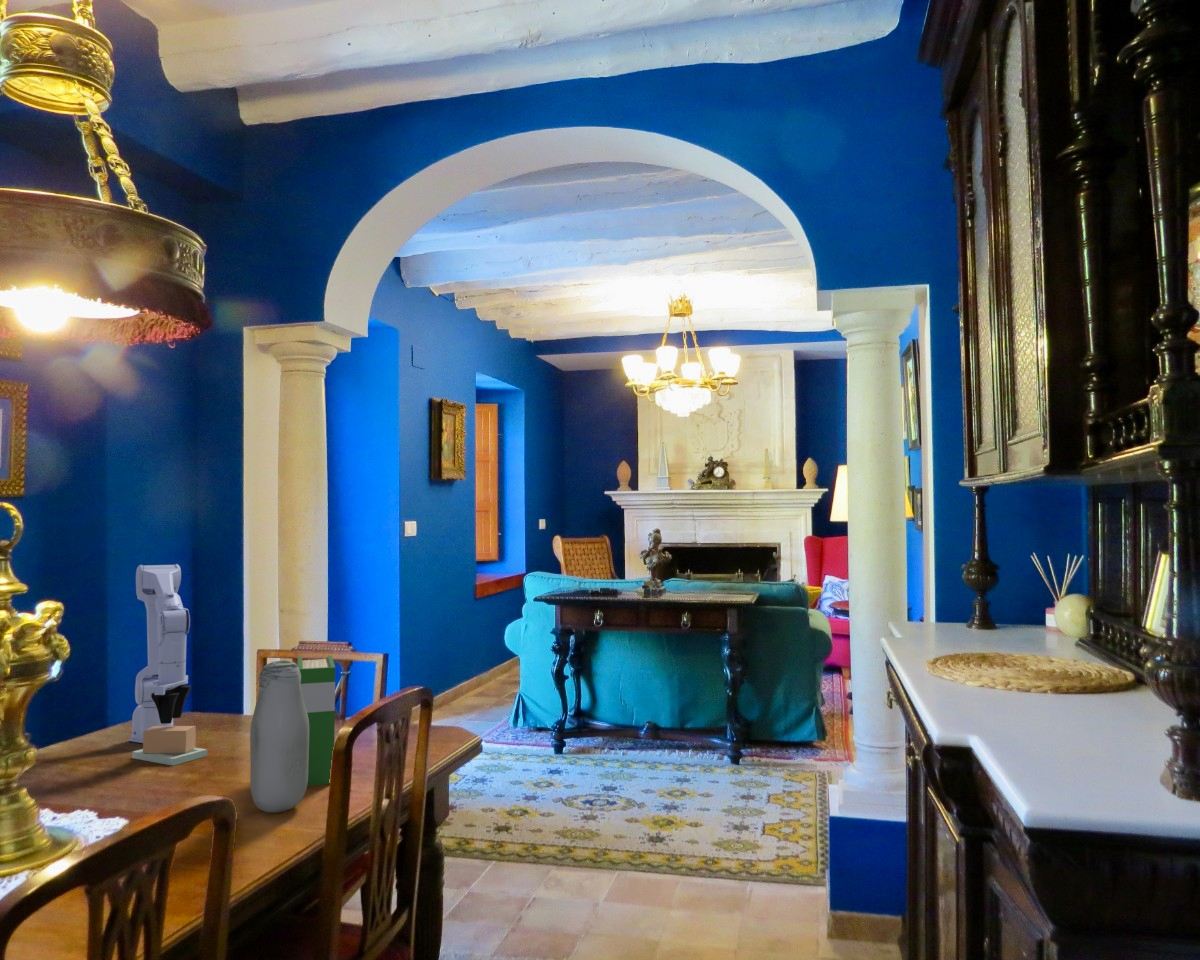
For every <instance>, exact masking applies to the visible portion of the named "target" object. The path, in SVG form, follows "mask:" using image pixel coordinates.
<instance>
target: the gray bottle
mask: <svg viewBox="0 0 1200 960" xmlns="http://www.w3.org/2000/svg"><path fill="white" fill-rule="evenodd" d="M249 744H250V745H249V748H250V750H249V751H250V753H249V754H250V767H249V768H250V770H249V771H250V776H249V777H250V781H249V783H250V784H249V785H250V793H251V796H252V799H253V803H254V804H255V806H256V807H257V808H258V809H259V810H261V811H262V812H265V813H267V814H268V813H274V814H275V813H282V812H286V811H288V810H291V809H294V808H295V807H296V806H298V805H299V803H300V802H301V801H302V800H303V798H304V797H305V793H306V792H307V787H308V786H307V782H308V757H309V719H308V714H307V710H306V707H305V704H304V700H303V694H302V689H301V673H300V670H299V667H298V663H295V662H293V661H292V660H291V661H290V660H284V659H283V660H275V661H271V662H269V663H267V664H266V665H264V667H263V668H262V669H261V670H260V673H259V678H258V693H257V701H256V702H255V707H254V711H253V715H252V719H251V723H250V731H249Z"/></svg>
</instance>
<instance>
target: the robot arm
mask: <svg viewBox="0 0 1200 960" xmlns="http://www.w3.org/2000/svg"><path fill="white" fill-rule="evenodd" d="M181 582H182V570H181V566H180V565H179V564H178V563H174V564H158V565H157V564H155V565H154V564H153V565H150V564H148V565H147V564H146V565H143V564H139V565H138V566H137V568H136V571H135V591H136V592H135V593H136V594H135V595H136V596H137V600H139V601H141V602H144V606H145V610H146V632H147V633H146V636H147V638H146V639H147V640H146V641H147V642H146V643H147V644H146V645H147V646H146V647H147V666H144V668H143V669H141V670H140V671H139V672H138V673H137V674H136V677H135V685H134V686H135V687H134V698H135V703H136V704H137V706H136V707H135V709H134V711H133V713H132V718H131V719H132V720H131V722H132V723H131V724H132V725H131V738H128V741H129V742H133V743H140V744H143V731H145V730H147V729H149V728H151V727H153V726H174V719H180V718H181V717H182V714H183V711H184V707H185V704H186V701H187V700H186V699H187V698H188V696H189V693H190V691H192V685H187V684H188V683H189V675H188V674H186V672H187V670H186V669H187V667H186V666H187V637H188V636H187V634H189V632H190V627H191V615H190V612H189V609H188V608H186V607H184V605H183V602H182V599H181V596H180V595H179V594H178V591H179V588H180V586H181Z"/></svg>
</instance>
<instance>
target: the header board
mask: <svg viewBox="0 0 1200 960" xmlns="http://www.w3.org/2000/svg"><path fill="white" fill-rule="evenodd" d="M131 757H132V758H131V759H133V760H135V759H136V760H140V761H147V762H151V763H157V764H162V765H167V766H177V765H180V764H184V763H187V762H191V761H196V760H198V759H201V758H205V757H208V749H207V748H200V747H196V746H195V748H193V749H192V750H190V751H188V752H186V753H143V748H142V749H137V750H134V751H132V756H131Z"/></svg>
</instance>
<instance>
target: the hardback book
mask: <svg viewBox="0 0 1200 960" xmlns="http://www.w3.org/2000/svg"><path fill="white" fill-rule="evenodd" d="M297 666H298V667H299V670H300V673H301V689H302V694H303V700H304V704H305V707H306V710H307V714H308V719H309V757H308V782H307V787H310V786H311V787H312V786H321V785H329V779H330V769H331V760H332V751H333V747H334V748H335V727H336V726H335V720H336V719H335V718H336V715H335V714H336V713H335V711H336V710H335V709H336V665H335V661H334V658H333V655H327V658H322V659H321V658H320V659H304V660H303V656H298V657H297Z"/></svg>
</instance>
